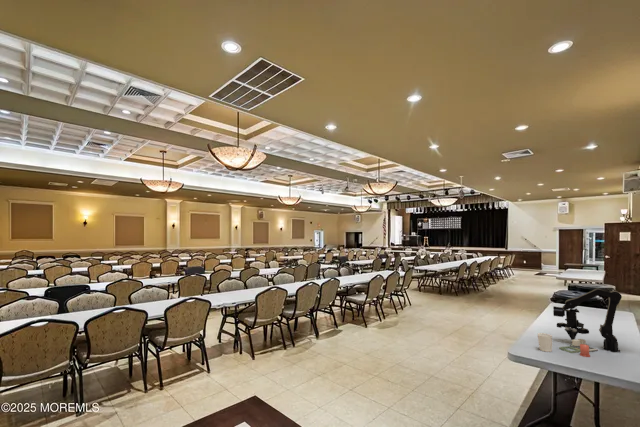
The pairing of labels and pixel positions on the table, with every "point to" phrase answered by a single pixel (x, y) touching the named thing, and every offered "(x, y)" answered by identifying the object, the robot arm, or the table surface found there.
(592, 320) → the table surface
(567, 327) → the robot arm
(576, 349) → the frame
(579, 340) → the toggle
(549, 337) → the white cup
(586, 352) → the cap
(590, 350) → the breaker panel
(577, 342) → the toggle
